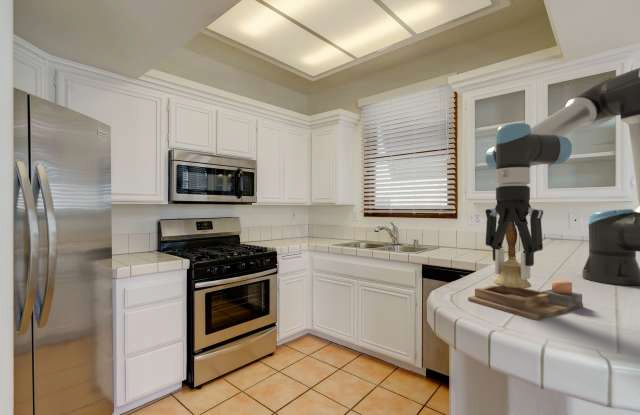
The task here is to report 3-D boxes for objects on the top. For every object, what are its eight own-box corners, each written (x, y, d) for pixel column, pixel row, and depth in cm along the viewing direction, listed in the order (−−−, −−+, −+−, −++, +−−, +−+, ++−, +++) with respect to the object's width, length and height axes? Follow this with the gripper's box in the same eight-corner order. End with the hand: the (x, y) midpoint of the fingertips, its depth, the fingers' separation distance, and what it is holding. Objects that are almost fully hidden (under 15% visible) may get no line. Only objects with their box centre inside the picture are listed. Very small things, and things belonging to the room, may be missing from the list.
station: (514, 291, 96) (514, 279, 96) (583, 306, 81) (583, 293, 81) (468, 300, 86) (468, 288, 86) (536, 320, 71) (536, 305, 71)
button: (557, 289, 84) (557, 279, 84) (575, 292, 81) (575, 282, 81) (548, 290, 82) (548, 281, 82) (566, 294, 79) (566, 284, 79)
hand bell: (511, 289, 79) (511, 222, 79) (486, 281, 87) (486, 221, 87) (539, 287, 81) (539, 222, 81) (512, 279, 89) (512, 221, 89)
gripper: (470, 187, 91) (470, 271, 91) (544, 182, 74) (543, 285, 74) (487, 187, 94) (487, 268, 95) (561, 184, 78) (561, 282, 78)
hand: (512, 276), depth 84 cm, fingers closed on hand bell, 6 cm apart
